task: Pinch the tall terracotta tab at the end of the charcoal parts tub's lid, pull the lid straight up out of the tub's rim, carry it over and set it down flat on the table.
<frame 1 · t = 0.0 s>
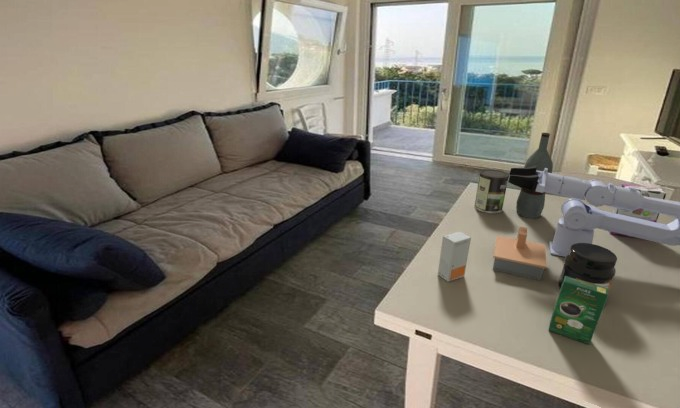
hand: (509, 174, 112), 22 cm above the table, tool horizontal, fingers open, 7 cm apart
coffee can: (487, 208, 144), on the table
lid: (518, 254, 106), point 3 cm above the table, touching tub
bottle: (528, 213, 139), on the table
candy bar box: (627, 234, 124), on the table
coffee box: (569, 335, 81), on the table
skincare box: (451, 276, 101), on the table
supplement container: (580, 293, 94), on the table
tub: (516, 264, 107), on the table
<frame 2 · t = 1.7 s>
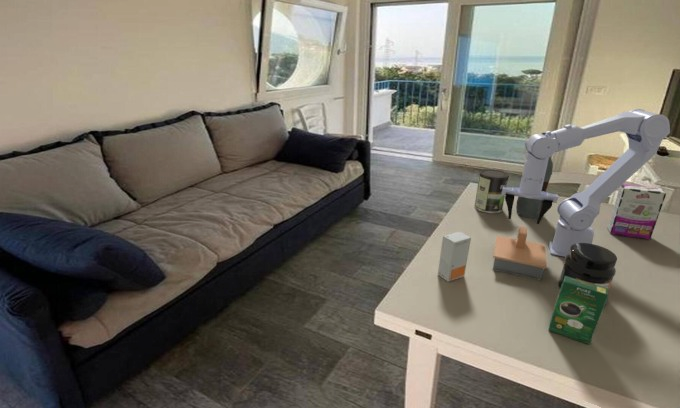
hand: (523, 220, 112), 9 cm above the table, tool pointing down, fingers open, 7 cm apart
nothing on the table moved.
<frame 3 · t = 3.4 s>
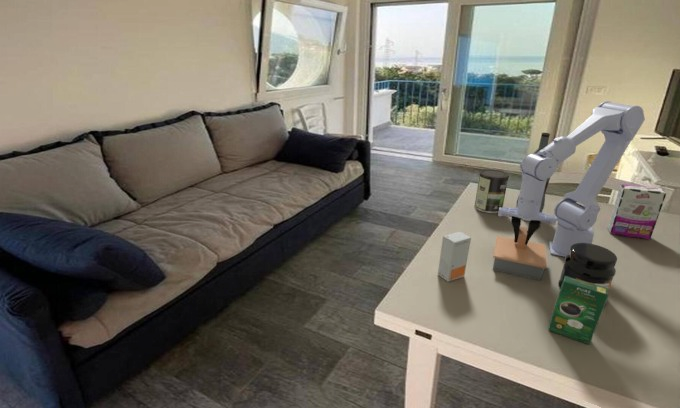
hand: (520, 242, 108), 5 cm above the table, tool pointing down, fingers closed on lid
lid: (518, 254, 106), point 3 cm above the table, touching gripper, tub
everything else where it was.
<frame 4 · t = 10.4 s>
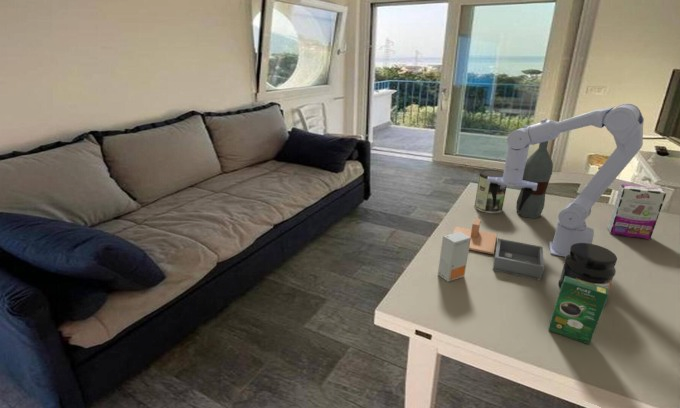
hand: (506, 207, 122), 9 cm above the table, tool pointing down, fingers open, 7 cm apart
lid: (472, 242, 119), on the table
everything else where it was.
at the end: lid inside the target area (0.5 cm from its centre), on the table; lid tilted 0°; the gripper is holding nothing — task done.
